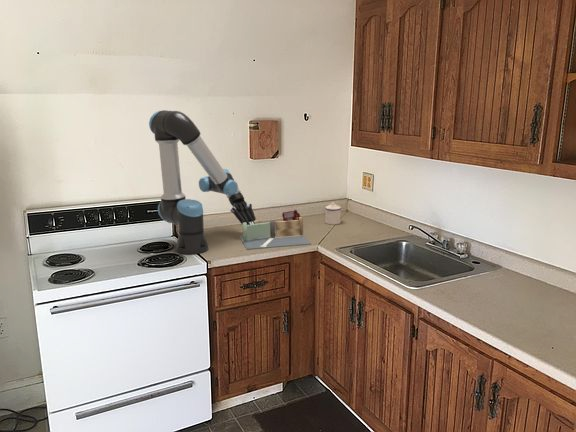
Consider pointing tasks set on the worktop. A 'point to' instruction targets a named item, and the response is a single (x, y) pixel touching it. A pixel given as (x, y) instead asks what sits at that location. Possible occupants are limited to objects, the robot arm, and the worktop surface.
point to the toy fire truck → (290, 215)
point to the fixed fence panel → (286, 228)
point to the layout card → (274, 242)
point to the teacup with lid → (333, 214)
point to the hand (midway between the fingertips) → (255, 233)
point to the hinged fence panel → (255, 230)
